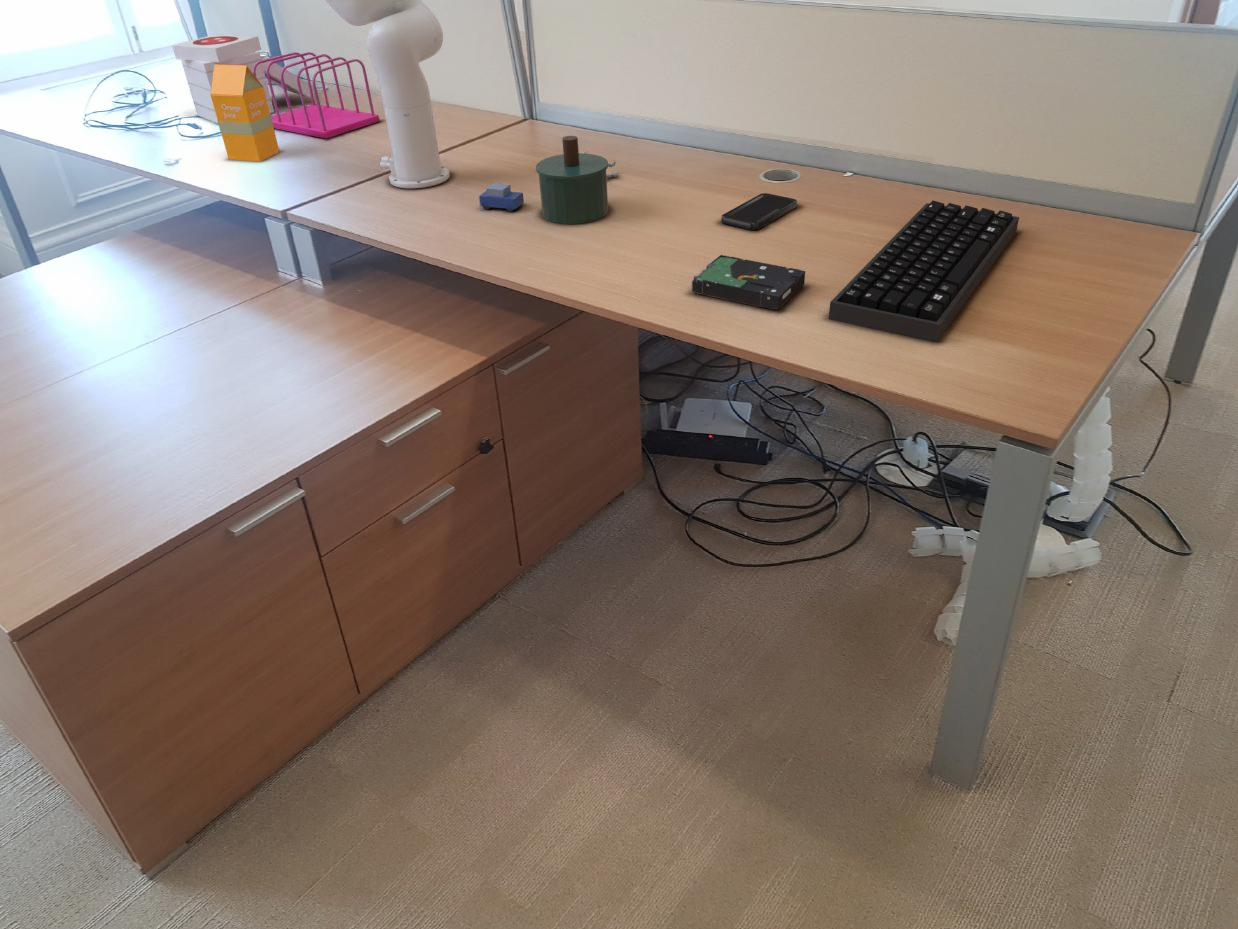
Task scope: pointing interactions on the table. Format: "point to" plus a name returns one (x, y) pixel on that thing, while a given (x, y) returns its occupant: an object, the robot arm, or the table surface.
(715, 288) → the disk drive
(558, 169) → the lid
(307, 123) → the file sorter
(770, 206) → the phone
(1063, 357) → the table surface
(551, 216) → the tin
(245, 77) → the orange juice
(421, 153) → the robot arm
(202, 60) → the pizza boxes
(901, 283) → the computer keyboard
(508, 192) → the toy car
